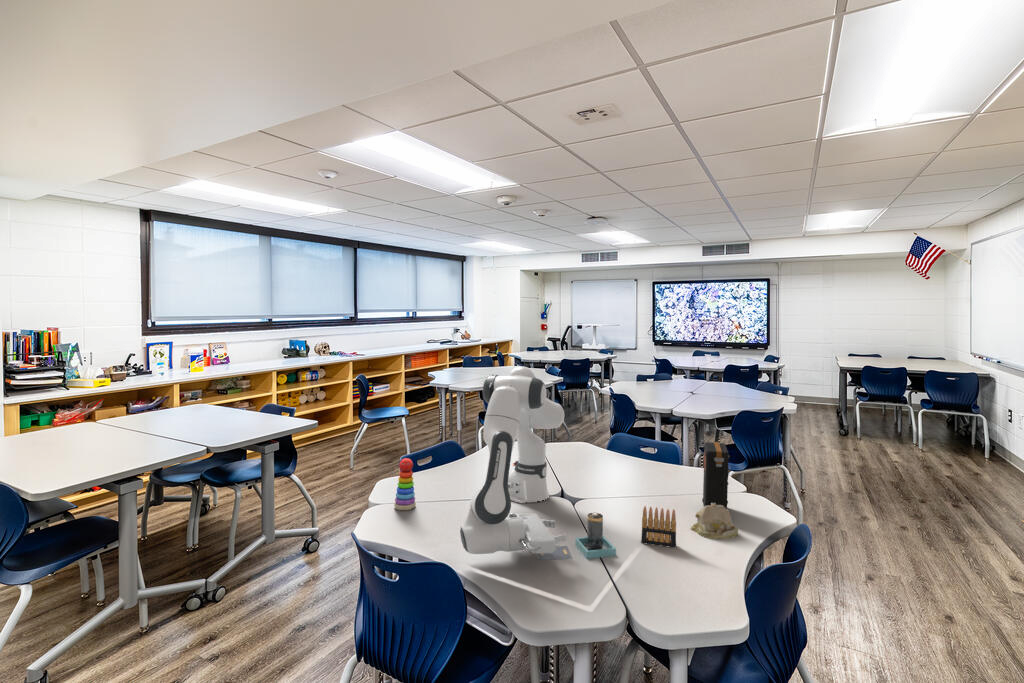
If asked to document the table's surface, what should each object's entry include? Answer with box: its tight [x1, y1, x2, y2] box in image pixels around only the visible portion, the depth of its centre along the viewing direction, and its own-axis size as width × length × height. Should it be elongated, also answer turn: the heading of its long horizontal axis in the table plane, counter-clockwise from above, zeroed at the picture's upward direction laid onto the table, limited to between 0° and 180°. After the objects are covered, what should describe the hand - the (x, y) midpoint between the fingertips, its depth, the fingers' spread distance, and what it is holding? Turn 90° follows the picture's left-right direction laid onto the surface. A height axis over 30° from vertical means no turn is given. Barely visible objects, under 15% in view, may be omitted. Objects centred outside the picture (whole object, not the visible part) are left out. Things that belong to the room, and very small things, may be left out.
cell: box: [586, 512, 604, 551], centre depth 149 cm, size 5×5×12 cm
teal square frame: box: [574, 535, 617, 560], centre depth 149 cm, size 9×9×3 cm
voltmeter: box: [701, 441, 730, 510], centre depth 182 cm, size 16×9×25 cm, turn 161°
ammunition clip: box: [640, 505, 677, 548], centre depth 156 cm, size 11×2×12 cm, turn 73°
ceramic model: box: [690, 503, 739, 540], centre depth 165 cm, size 14×11×10 cm
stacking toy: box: [393, 457, 417, 511], centre depth 185 cm, size 8×8×19 cm
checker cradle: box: [536, 545, 573, 561], centre depth 148 cm, size 10×8×1 cm
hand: (560, 530), depth 146 cm, fingers open, 8 cm apart
